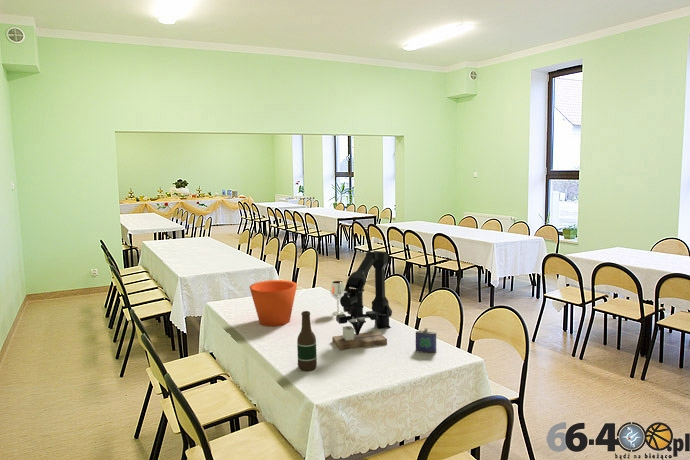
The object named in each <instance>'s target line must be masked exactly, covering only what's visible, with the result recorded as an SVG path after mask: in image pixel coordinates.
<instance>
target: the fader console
mask: <svg viewBox="0 0 690 460" xmlns="http://www.w3.org/2000/svg"><path fill="white" fill-rule="evenodd" d="M331 339H332V343H333V344H334V346H335V347H336V348H337V350H338V351H346V350H353V349H360V348H361V349H362V348H370V347H378V346H385V345H388V339H387V337H385V336H384V335H383V334H382V333H381V332H380V331H378V330H375V331H367V332H359V334H358V335H356V333H354V340H347V341H346V340H345V339H344V338H343V334H342V335H334V336H332V338H331Z"/></svg>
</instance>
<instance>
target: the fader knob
mask: <svg viewBox="0 0 690 460" xmlns="http://www.w3.org/2000/svg"><path fill="white" fill-rule="evenodd" d="M354 334H355V330H354V327H353V326H351V325H348V326H347V325H346V326H342V335H343V338H344V339H345V340H346V341H347V340H354Z"/></svg>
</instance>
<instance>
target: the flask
mask: <svg viewBox="0 0 690 460" xmlns="http://www.w3.org/2000/svg"><path fill="white" fill-rule="evenodd" d="M428 330H429V329H428V328H427V327H425V328H424V330H420V329H419V330H416V331H415V351H416V352H417V351H418V352H417V353H426V352H427V354H428V353H429V354H434V353H437V332H436V331H428Z"/></svg>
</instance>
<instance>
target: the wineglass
mask: <svg viewBox="0 0 690 460" xmlns="http://www.w3.org/2000/svg"><path fill="white" fill-rule="evenodd" d="M344 290H345V285H344V282H343V281H341V280H335V281H332V283H331V286H330V295H331V296H332V298H333V299H335V300H336V305H337V306H336V308H337V309H336V310H337V311H333V312H332V315H333V316H337V315H340V314H345V312H344V311H341V310H340V309H339V308H340V306H339V304H340V299H341V297H342V296H344V293H345V292H346V291H344Z"/></svg>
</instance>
